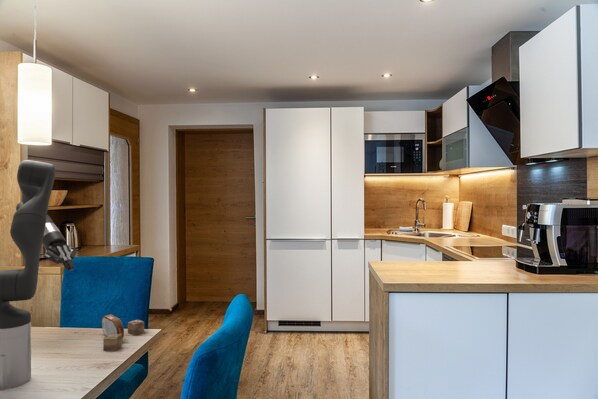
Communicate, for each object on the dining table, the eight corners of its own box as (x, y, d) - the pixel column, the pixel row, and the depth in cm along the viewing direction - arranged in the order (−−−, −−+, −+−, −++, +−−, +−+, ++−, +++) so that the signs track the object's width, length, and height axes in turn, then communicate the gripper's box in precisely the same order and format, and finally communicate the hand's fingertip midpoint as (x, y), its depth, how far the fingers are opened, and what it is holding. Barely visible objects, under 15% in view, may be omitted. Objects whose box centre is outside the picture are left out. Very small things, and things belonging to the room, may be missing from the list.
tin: (124, 342, 152) (124, 319, 151) (116, 344, 149) (116, 321, 149) (108, 332, 162) (108, 311, 162) (100, 334, 159) (100, 313, 159)
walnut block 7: (133, 335, 158) (133, 324, 158) (127, 333, 161) (127, 321, 161) (144, 332, 162) (144, 321, 162) (138, 330, 165) (138, 319, 165)
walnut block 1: (115, 351, 143) (115, 338, 142) (103, 351, 143) (103, 338, 143) (121, 346, 147) (121, 333, 147) (110, 346, 147) (110, 333, 147)
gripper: (38, 231, 153) (60, 265, 148) (70, 229, 165) (91, 260, 160) (29, 244, 155) (50, 278, 150) (61, 241, 167) (82, 273, 162)
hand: (71, 269), depth 155 cm, fingers closed
